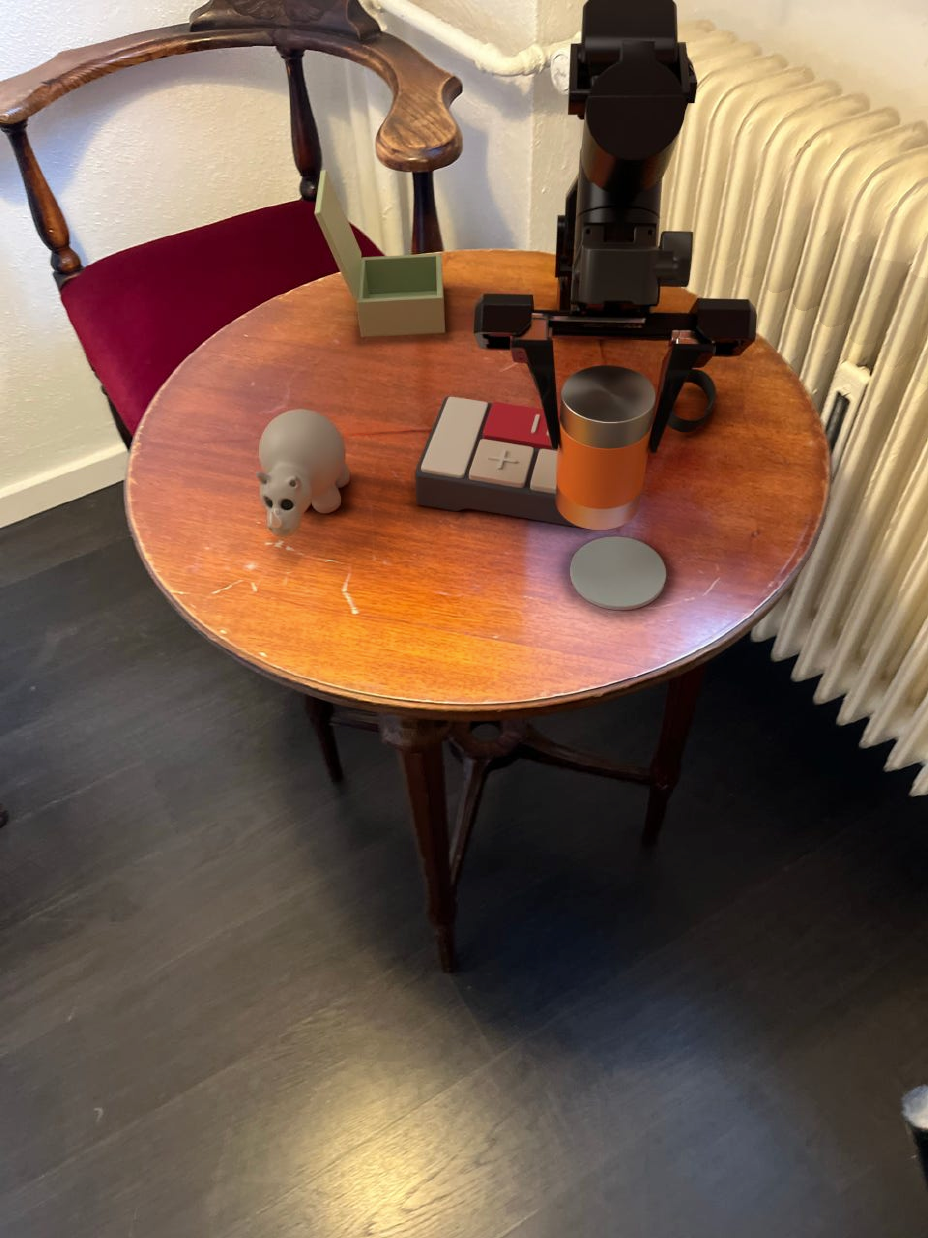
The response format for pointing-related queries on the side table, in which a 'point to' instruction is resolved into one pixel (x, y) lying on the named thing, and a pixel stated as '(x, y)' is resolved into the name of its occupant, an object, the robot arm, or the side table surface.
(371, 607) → the side table surface
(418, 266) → the box
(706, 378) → the watch
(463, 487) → the button control panel
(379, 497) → the side table surface
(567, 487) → the can
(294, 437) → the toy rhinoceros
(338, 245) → the box lid
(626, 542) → the coaster
